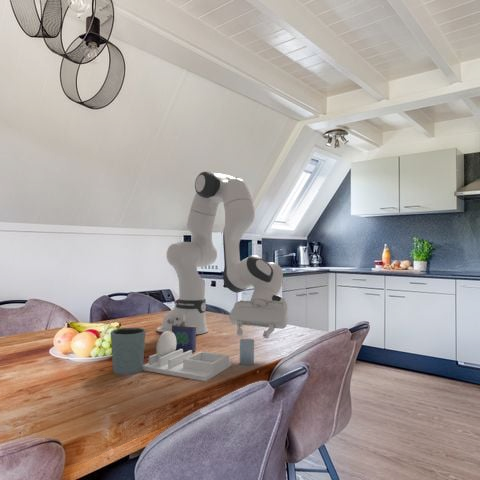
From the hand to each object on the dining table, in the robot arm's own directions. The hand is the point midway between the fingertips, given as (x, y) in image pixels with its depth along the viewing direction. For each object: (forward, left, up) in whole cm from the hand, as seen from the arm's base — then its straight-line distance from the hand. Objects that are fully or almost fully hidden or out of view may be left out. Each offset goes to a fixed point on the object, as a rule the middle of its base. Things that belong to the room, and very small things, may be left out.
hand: (252, 335), depth 128 cm
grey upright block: (0, -3, -8) cm, 9 cm away
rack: (-14, -16, -8) cm, 23 cm away
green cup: (-29, -26, -9) cm, 40 cm away
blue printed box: (-26, 0, -8) cm, 28 cm away
